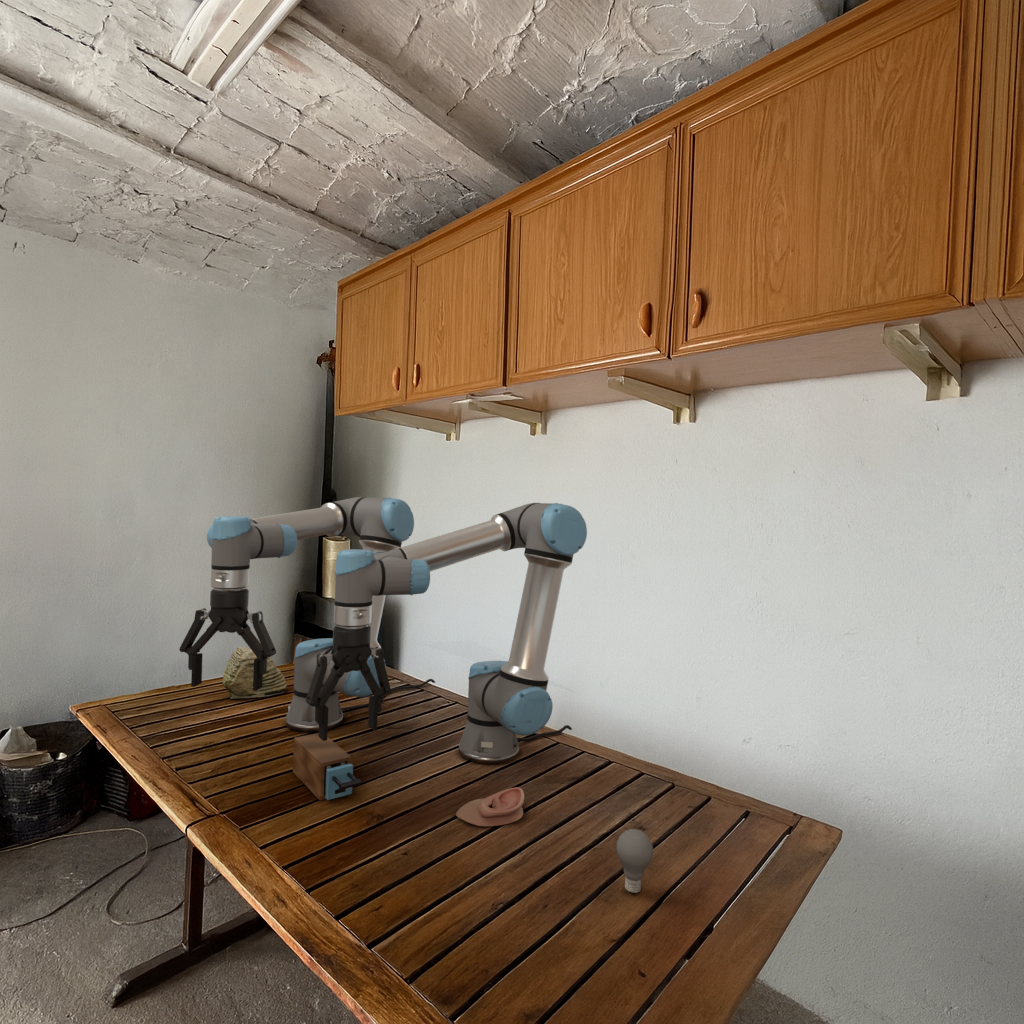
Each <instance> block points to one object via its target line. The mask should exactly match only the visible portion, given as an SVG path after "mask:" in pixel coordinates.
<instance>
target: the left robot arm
mask: <svg viewBox="0 0 1024 1024" xmlns="http://www.w3.org/2000/svg"><path fill="white" fill-rule="evenodd" d="M413 513H414V512H413V511H412V509H411V507H410V505H409V504H408V503H407V502H406V501H405V500H402V499H400V498H393V497H370V496H355V497H351V498H346V499H340V500H335V501H331V502H326V503H324V504H322V505H321V507H316V508H309V509H303V510H298V511H292V512H291V511H290V512H285V513H278V514H273V515H267V516H266V515H265V516H260V517H255V518H250V517H248V516H239V515H238V516H237V515H236V516H234V515H220V516H217V517H215V518H214V519H213V522H212V524H211V526H210V527H209V528H208V530H207V532H206V541H207V544H208V546H209V547H210V549H211V562H210V563H211V565H210V566H211V569H210V587H211V588H212V589H211V590H210V591H209V593H210V597H209V606H210V609H209V610H208V609H207V608H205V607H203V608H200V609H197V610H195V613H194V619H193V622H192V624H191V626H190V628H189V629H188V631H187V633H186V635H185V637H184V638H183V641H182V642H181V645H180V646H179V649H178V650H179V652H180V653H185V654H187V655H188V657H187V658H188V661H187V663H188V665H187V668H188V670H189V671H191V680H190V681H191V682H190V686H191V688H192V687H193V688H194V687H197V686H199V685H201V684H202V683H203V682H202V681H203V652H201V650H202V649H203V648H204V646H205V645H206V644H207V643H208V642H209V641H210V640H211V639H212V638H213V636H215V634H216V633H217V632H218V633H229V634H234V633H237V635H238V636H240V637H241V638H242V639H243V641H244V642H245V644H246V645H247V646H248V648H250V649H251V650H252V651H253V653H254V654H255V655H256V657H257V659H255V660H254V673H253V690H254V691H257V690H258V689H260V688H261V687H262V679H263V674H264V673H266V671H267V658H268V657H269V658H271V657H272V656H274V655H276V654H277V649H276V646H275V644H274V643H273V640H272V639H271V635H270V633H269V631H268V629H267V627H266V625H265V623H264V613H263V612H262V611H261V610H260V611H256V612H249V602H250V601H249V600H250V599H249V597H250V596H249V595H250V590H249V589H248V587H249V586H250V567H251V566H250V565H251V560H256V559H271V558H277V559H280V558H283V557H289V556H291V555H292V554H294V552H295V551H296V548H297V546H298V541H300V540H301V541H302V540H306V539H310V538H311V539H312V538H315V537H320V536H325V535H326V536H327V537H329V538H333V537H339V536H346V537H356V538H359V539H358V543H359V544H360V546H361V547H362V550H370V551H372V552H373V553H375V552H388V551H391V550H394V549H398V548H401V547H402V544H403V542H406V541H407V540H408V539H410V537H411V536H412V535H413V532H414V529H415V519H414V514H413ZM386 596H387V595H380V596H373V597H372V616H371V623H370V624H369V626H370V627H371V642H370V648H371V649H374V648H375V647H379V648H381V649H382V646H381V645H380V643H379V642H378V635H379V631H380V626H381V620H382V617H383V610H384V607H385V602H386V601H385V600H386ZM207 619H209V620H210V622H211V624H209V626H208V627H207V628H206V629H205V631H204V632H203V633H202V634H201V636H200V637H199V638H198V635H199V634H200V632H201V630H202V628H203V626H204V624H205V622H206V620H207ZM248 620H249V622H250V623H251V624H252V627H253V629H254V631H255V633H256V635H255V634H254V632H253V630H251V627H250V626H249V624H248ZM197 638H198V639H197ZM196 639H197V640H196ZM332 649H333V637H329V638H328V637H326V638H313V639H308V640H304V641H302V642H299V643H298V644H297V645H296V647H295V652H294V653H295V654H294V657H293V659H294V660H293V662H294V663H293V665H294V666H293V695H292V696H293V697H292V699H291V702H290V703H289V704H288V707H287V709H288V711H287V713H286V715H285V726H286V728H287V729H289V730H291V731H294V732H295V731H296V732H301V733H319V724H318V723H316V722H315V706H313V707H312V706H310V705H309V704H308V703H306V698H307V695H308V691H309V688H310V685H311V682H312V679H313V676H314V673H315V669H316V666H317V655H318V654H322V655H325V654H331V652H332ZM367 664H368V666H369V668H370V671H371V673H372V675H373V676H374V678H375V680H376V682H377V684H378V686H379V687H380V685H379V681H378V676H377V672H376V668H375V664H374V660H373V658H372V655H371V656H370V657H369V659H368V660H367ZM384 664H385V668H386V669H387V663H386V660H385V659H384ZM333 665H334V662H333V660H331V661H330V663H329V665H327V670H326V674H325V677H324V680H323V683H322V686H321V689H322V687H323V685H324V684H325V682H326V680H327V678H328V676H329V675H330V673H331V669H332V667H333ZM338 670H339V669H338ZM430 682H432V683H433V684H435V683H436V681H435V680H434V679H433V678H428V679H427V680H425V681H424V682H422V683H419V684H413V685H405V686H404V685H403V686H398V687H394V688H390V689H391V692H390V693H392V692H397V691H400V690H408V689H417V688H422V687H424V686H425V685H428V683H430ZM320 691H321V690H320ZM338 694H343V695H347V696H348V697H356V698H367V697H369V696H372V695H373V693H372V691H371V689H370V688H369V686H368V684H367V682H366V680H365V679H364V677H363V675H362V673H361V671H351V672H347V673H345V672H344V674H343V676H342V677H341V678H340V679H339V681H338V683H337V684H336V686H335V688H334V690H333V692H332V694H331V695H330V697H329V699H328V701H327V703H326V704H325V706H327V707H328V731H329V730H332V729H335V728H337V727H339V726H340V725H342V723H343V722H344V713H343V711H351V710H355V709H362V708H366V707H369V702H367V703H362V704H356V705H351V706H344V707H342V706H341V702H340V699H339V695H338ZM386 695H388V694H387V693H386V694H385V696H386Z"/></svg>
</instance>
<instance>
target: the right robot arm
mask: <svg viewBox="0 0 1024 1024" xmlns="http://www.w3.org/2000/svg"><path fill="white" fill-rule="evenodd" d="M587 537H588V528H587V523H586V520H585V518H584V517H583V515H582V514H581V512H580V511H579V510H578V509H576V508H575V507H573V506H571V505H568V504H563V503H557V502H554V503H547V502H531V503H526V504H523V505H520V506H517V507H515V508H511V509H509V510H508V509H507V510H505V511H503V512H500V513H496V514H493V515H492V516H491V518H490V520H487V521H484V522H481V523H478V524H474V525H471V526H467V527H464V528H460V529H458V530H453V531H451V532H447V533H444V534H441V535H438V536H434V537H431V538H427V539H425V540H421V541H418V542H415V543H411V544H408V545H405V546H401V548H398V549H394V550H391V551H388V552H375V553H373V552H372V551H370V550H363V549H358V548H357V549H355V548H349V549H347V548H346V549H342V550H340V551H338V553H337V555H336V561H335V570H334V603H333V604H334V605H333V622H332V623H333V625H334V627H333V628H332V638H333V649H332V652H331V654H325V655H322V654H318V655H317V666H316V669H315V673H314V676H313V679H312V682H311V685H310V688H309V691H308V695H307V698H306V703H308V704H309V705H310V706H312V707H313V706H315V722H316V723H318V724H319V731H318V733H319V734H318V737H319V738H321V739H322V740H323V741H326V740H327V737H328V732H329V730H328V707H327V706H325V704H326V703H327V701H328V699H329V697H330V695H331V694H332V692H333V690H334V688H335V686H336V684H337V683H338V681H339V679H340V678H341V677H342V676H343V674H344V672H345V673H347V672H351V671H361V673H362V675H363V677H364V679H365V680H366V682H367V684H368V686H369V688H370V689H371V691H372V693H373V694H372V695H369V696H368V703H369V706H368V712H367V713H368V715H367V716H368V717H367V727H368V728H369V729H370V730H372V731H378V718H379V717H378V716H379V714H378V713H381V712H382V704H383V703H382V702H383V699H384V698H385V696H386V695H388V694H390V693H392V692H391V689H392V688H391V685H390V681H389V677H388V672H387V667H386V668H385V664H386V663H385V664H384V660H385V650H384V649H383V648H382V647H381V648H379V647H375V648H374V649H371V648H370V642H371V627H370V626H369V624H370V623H371V616H372V597H373V596H380V595H386V596H413V595H421V594H422V595H423V594H424V593H426V592H427V591H428V590H429V587H430V583H431V572H434V571H436V570H440V569H442V568H446V567H449V566H452V565H455V564H458V563H461V562H464V561H468V560H470V559H473V558H477V557H479V556H483V555H485V554H489V553H492V552H494V551H495V552H496V551H498V550H500V551H502V552H508V551H511V550H515V549H524V552H523V555H524V557H525V558H526V560H527V562H528V565H527V568H526V569H527V570H526V574H525V580H524V584H523V589H522V594H521V599H520V604H519V609H518V613H517V618H516V623H515V628H514V632H513V633H514V634H513V637H512V643H511V647H510V648H511V649H510V653H509V656H508V657H509V658H508V660H484V661H477V662H475V663H472V664H471V666H470V667H469V674H468V689H467V690H468V692H467V693H468V694H467V695H468V696H467V720H466V724H465V726H464V729H463V732H462V735H461V737H460V740H459V744H458V753H459V755H460V757H462V758H463V759H465V760H466V761H469V762H471V763H476V764H482V765H500V764H505V763H509V762H512V761H514V760H515V759H517V757H519V754H520V745H519V742H530V741H533V740H536V739H538V738H542V737H547V736H554V735H560V734H561V733H563V732H564V731H565V730H567V729H568V730H570V731H571V730H573V728H572V727H571V726H570V725H568V724H566V725H564V726H563V727H561V728H560V729H558V730H554V731H546V732H541V733H539V731H540V730H541V729H543V728H544V727H545V726H546V724H547V723H548V722H549V720H550V718H551V716H552V713H553V706H554V705H553V700H552V698H551V695H550V693H549V692H548V691H547V690H548V684H549V679H550V678H549V675H548V673H547V672H546V671H545V667H546V662H547V657H548V653H549V652H548V651H549V646H550V642H551V637H552V632H553V628H554V622H555V618H556V617H555V616H556V611H557V607H558V601H559V597H560V593H561V592H560V591H561V587H562V582H563V576H564V571H565V570H566V569H567V568H568V567H570V566H572V563H573V559H574V555H575V554H576V553H578V552H579V551H580V550H581V549H582V548H584V546H585V543H586V541H587ZM371 655H372V658H373V660H374V664H375V668H376V672H377V676H378V681H379V685H380V686H378V684H377V682H376V680H375V678H374V676H373V675H372V673H371V671H370V668H369V666H368V664H367V660H368V659H369V657H370V656H371ZM331 660H333V662H334V665H333V667H332V669H331V673H330V675H329V676H328V678H327V680H326V682H325V684H324V685H323V687H322V689H321V686H322V683H323V680H324V677H325V674H326V670H327V665H329V663H330V661H331ZM338 669H339V670H338ZM320 690H321V691H320ZM386 693H387V694H386ZM385 694H386V695H385ZM537 732H538V733H537ZM533 734H534V735H533ZM517 735H518V736H523V737H517ZM531 735H532V736H531ZM524 736H527V737H524ZM528 736H529V737H528Z"/></svg>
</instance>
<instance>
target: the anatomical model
mask: <svg viewBox="0 0 1024 1024" xmlns="http://www.w3.org/2000/svg"><path fill="white" fill-rule="evenodd" d="M524 803H525V792H524V790H523V789H522V788H521V787H518V786H517V787H511V788H507V789H504V790H501V791H498V792H495V793H493V794H491V795H489V796H487V797H484V798H479V799H478V798H477V799H474V800H473V799H472V800H471V801H468V802H467V803H465V804H463V805H462V806H461V807H459V808H458V810H457V811H456V813H455V817H457V818H458V819H460V820H461V821H464V822H466V823H468V824H471V825H473V826H474V825H475V826H476V827H497V826H503V825H508V824H511V823H515V822H517V821H519V820H520V819H521V818H522V817H523V816H524V808H523V806H524Z"/></svg>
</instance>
